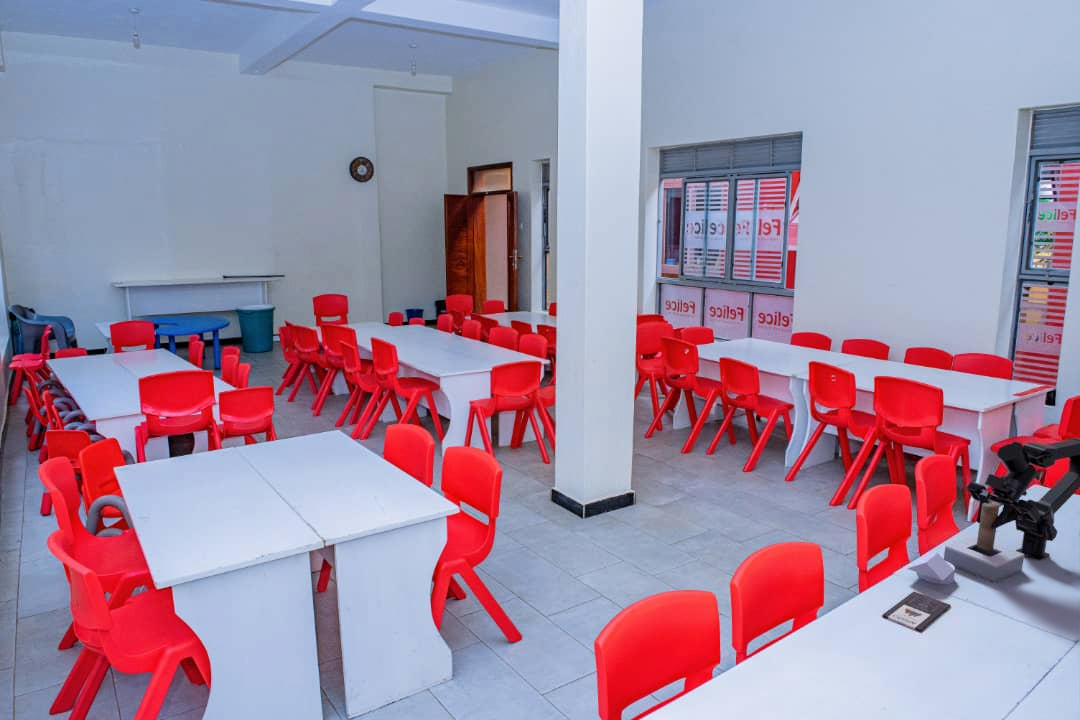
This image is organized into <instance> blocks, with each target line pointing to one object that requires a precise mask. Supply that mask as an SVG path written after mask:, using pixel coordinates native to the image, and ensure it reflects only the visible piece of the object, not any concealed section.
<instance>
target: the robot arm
mask: <svg viewBox="0 0 1080 720" xmlns="http://www.w3.org/2000/svg"><path fill="white" fill-rule="evenodd" d="M997 457H998V458H999V460H1000V462H1001V463H1002V464H1003V466H1004V467H1005V469H1006V470H1007V471H1008V473H1007V475H1006V476H1004V475H1002V476H997V475H995V474H991V473H988V475H987V478H986V480H985V483H984V485H983V484H980V483H977V482H975V481H972V482H971V481H970V482H969V483H968V484H967V486H966V487H965V489H966V490H967V492H968V493H969V495H970V497H971V498H973V500H975V501H977V502H979V506H978V513H977V516H976V519H975V520H976V522H977V524H980V517H981V510H982V504H983V503H991V504H993V503H994V502H995V503H997V504H1000V505H1002V509H1001V512H999V513H998V517H997V518H996V519H995V521H994V522H993V524H992V526H991V528H992V529H995V528H996V529H997V528H999V527H1002V526H1004V525H1006V524H1008V523H1011V522H1013V521H1015V528H1016V530H1017V531H1020V532H1022V533H1023V537H1022V543H1021V548H1020V547H1019V548H1018V549H1015V551H1017V552H1020V553H1023V554H1024V557H1028V558H1030V559H1033V560H1036V561H1041V560H1044V559H1046V558H1048V557H1050V553H1048V552H1046V547H1047V541H1050V542H1053V541H1054V539H1056V537H1057V535H1058V530H1057V528H1056V527H1055V525H1054V524H1055V514H1056V513H1057V511H1059V510H1060V509H1061V507H1063V505H1065V503H1066V502H1068V501H1069V500H1070V498H1071V497H1072V496H1073V495H1074V494H1075V493H1076V492H1077V491H1078V490H1079V489H1080V438H1077V437H1071V438H1069V439H1066V440H1062V441H1055V442H1052V443H1046V444H1045V443H1040V442H1026V443H1025V444H1023V443H1021V442H1020V441H1016V440H1013V442H1012V443H1007V444H1004V445H1003V446H1000V447H999V448H998V450H997ZM1066 458H1068V460H1069V462H1068V463H1069V464H1068V466H1069V467H1068V468H1069V469H1068V471H1066V472H1065V473H1064V474H1063V476H1062V477H1060V479H1059V480H1058V481H1057V482H1056V483H1055V484H1054V485H1053V486H1052V487H1051V488H1050V489H1049V490H1048V491H1047V492H1046V493H1045V494H1044V495H1043V496H1042V497H1041V498H1040V499H1039V500H1038V501H1035V500H1034V499H1028V500H1025V499H1021V497H1022V496H1024V497H1026V496H1027V494H1028V492H1027V489H1028V488H1029V486H1030V485H1031V484H1032V482H1033V481H1034V480H1036V481H1039V480H1040V478H1041V476H1040V473H1039V472H1040V470H1038V469H1036V467H1039V468H1042V469H1047V468H1050V467H1051V466H1054V465H1055V464H1056V462H1057V461H1059V460H1062V459H1066ZM1035 466H1036V467H1035ZM985 485H986V486H989V487H990V490H991V492H990V491H988V489H987V488H986V486H985ZM992 492H993V493H992Z"/></svg>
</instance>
